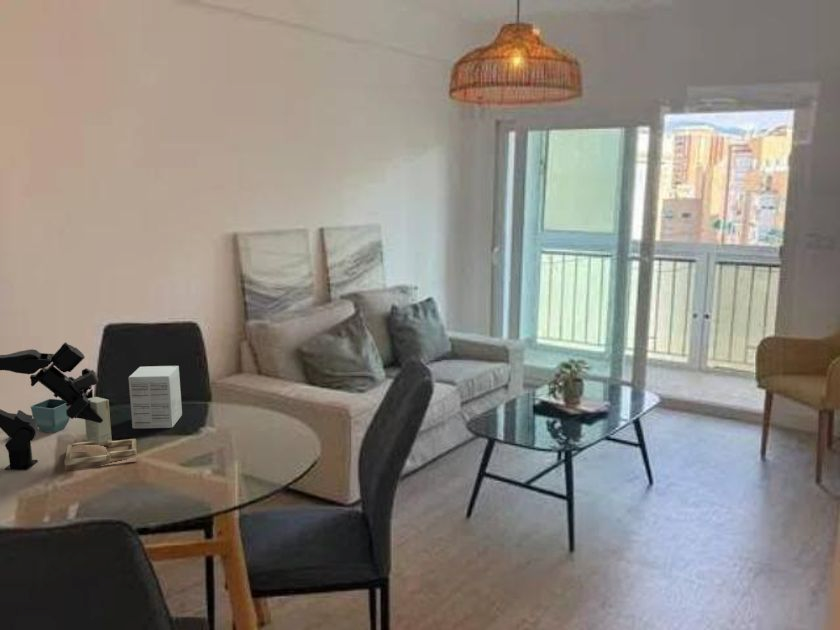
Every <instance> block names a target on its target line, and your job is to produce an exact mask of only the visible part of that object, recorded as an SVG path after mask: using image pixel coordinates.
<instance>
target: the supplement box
mask: <svg viewBox="0 0 840 630" xmlns="http://www.w3.org/2000/svg"><path fill="white" fill-rule="evenodd" d="M180 378H181V377H180V366H179V365H157V366H156V365H153V366H149V365H148V366H139V367H137V369H136V370H135V371H133V372H132V374H130V375H129V376H128V388H129V399H130V400H129V401H130V411H131V412H130V414H131V424H132V425H131V427H132V429H172V428H173V427H175V425H176V423H177V422H178V421H179V419H180V418H181V417H182V416H183V409H182V407H183V405H182V394H181V393H182V392H181V380H180Z"/></svg>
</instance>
